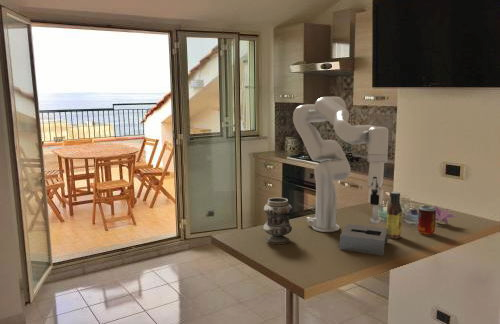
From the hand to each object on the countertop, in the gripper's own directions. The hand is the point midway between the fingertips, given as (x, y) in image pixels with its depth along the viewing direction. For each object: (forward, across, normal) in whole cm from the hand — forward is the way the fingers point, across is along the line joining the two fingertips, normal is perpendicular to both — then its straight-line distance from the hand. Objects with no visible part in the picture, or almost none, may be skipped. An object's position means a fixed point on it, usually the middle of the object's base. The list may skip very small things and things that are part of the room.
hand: (375, 202), depth 173 cm
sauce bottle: (+19, -16, +6) cm, 26 cm away
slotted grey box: (+19, 0, -4) cm, 19 cm away
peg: (+8, 0, 0) cm, 8 cm away
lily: (+19, -42, +25) cm, 53 cm away
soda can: (+19, -26, +19) cm, 38 cm away
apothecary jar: (+19, +8, -39) cm, 44 cm away
